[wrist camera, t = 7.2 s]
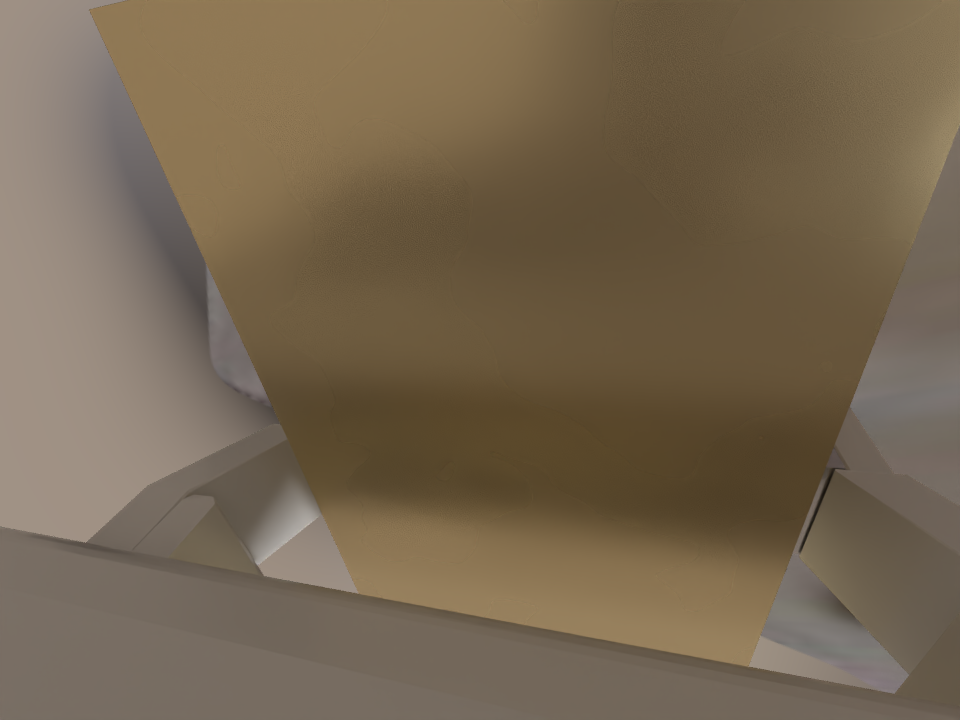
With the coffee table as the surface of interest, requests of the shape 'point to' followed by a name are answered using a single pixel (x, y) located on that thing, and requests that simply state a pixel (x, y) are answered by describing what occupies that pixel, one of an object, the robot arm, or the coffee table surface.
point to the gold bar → (555, 274)
